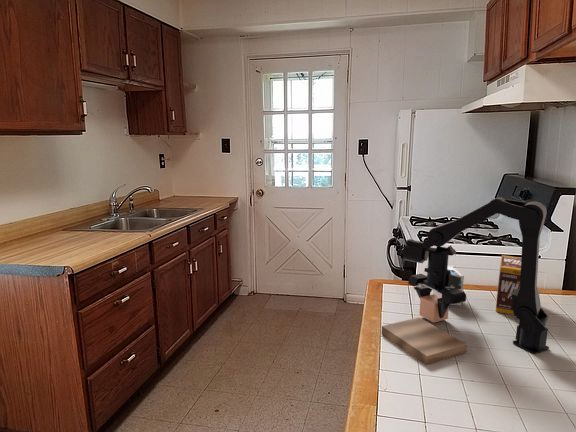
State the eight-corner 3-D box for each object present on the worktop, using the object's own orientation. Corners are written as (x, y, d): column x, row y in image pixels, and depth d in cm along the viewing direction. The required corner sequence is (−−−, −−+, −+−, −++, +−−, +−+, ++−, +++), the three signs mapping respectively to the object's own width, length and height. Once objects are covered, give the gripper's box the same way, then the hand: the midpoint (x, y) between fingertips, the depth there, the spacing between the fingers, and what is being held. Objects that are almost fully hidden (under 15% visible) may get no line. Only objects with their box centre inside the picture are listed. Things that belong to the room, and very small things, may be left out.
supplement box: (495, 312, 136) (500, 266, 133) (496, 296, 149) (501, 254, 146) (531, 318, 131) (538, 272, 128) (529, 301, 144) (535, 258, 141)
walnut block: (466, 354, 110) (467, 344, 110) (426, 366, 105) (427, 356, 104) (418, 326, 126) (418, 317, 126) (381, 335, 120) (381, 326, 120)
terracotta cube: (447, 318, 129) (449, 300, 127) (433, 322, 126) (434, 304, 125) (433, 311, 134) (434, 294, 133) (419, 314, 131) (420, 297, 130)
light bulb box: (461, 305, 140) (464, 275, 138) (441, 305, 141) (444, 275, 138) (450, 293, 151) (453, 265, 149) (431, 293, 151) (434, 265, 149)
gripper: (481, 271, 122) (476, 321, 125) (434, 254, 138) (431, 298, 141) (454, 277, 117) (449, 328, 120) (408, 259, 134) (405, 304, 137)
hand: (433, 313), depth 130 cm, fingers closed on terracotta cube, 6 cm apart
